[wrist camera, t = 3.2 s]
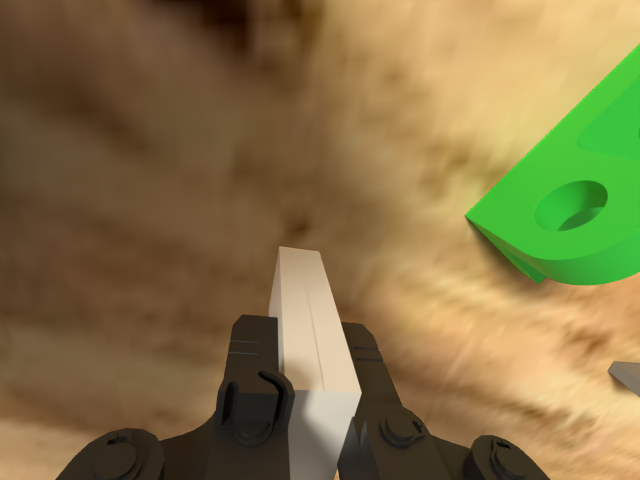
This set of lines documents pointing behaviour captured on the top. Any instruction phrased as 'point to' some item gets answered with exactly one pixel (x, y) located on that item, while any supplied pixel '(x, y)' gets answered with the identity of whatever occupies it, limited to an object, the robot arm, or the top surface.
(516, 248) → the mechanical part
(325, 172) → the top surface
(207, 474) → the robot arm
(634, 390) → the dock
